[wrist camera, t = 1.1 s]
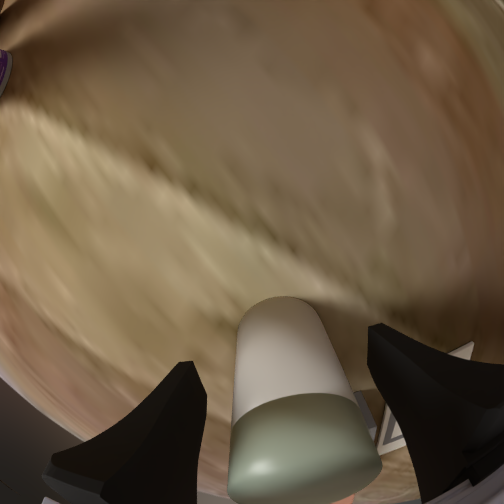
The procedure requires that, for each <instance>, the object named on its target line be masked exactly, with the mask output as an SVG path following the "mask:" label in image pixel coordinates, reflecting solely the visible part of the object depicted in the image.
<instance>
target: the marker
mask: <svg viewBox="0 0 504 504" xmlns="http://www.w3.org/2000/svg"><path fill="white" fill-rule="evenodd" d="M381 470H382V461H381V459H380V456H379V454H378V451H377V449H376V446H375V444H374V441H373V439H372V436H371V434H370V431H369V429H368V426H367V424H366V422H365V419H364V417H363V414H362V412H361V410H360V407H359V405H358V403H357V400H356V398H355V396H354V393H353V391H352V389H351V386H350V384H349V382H348V379H347V377H346V375H345V373H344V370H343V368H342V366H341V364H340V361H339V359H338V357H337V355H336V352H335V350H334V348H333V346H332V344H331V341H330V339H329V337H328V335H327V333H326V331H325V328H324V326H323V324H322V322H321V320H320V318H319V316H318V314H317V312H316V311H315V310H314V309H313V308H312V307H311V306H310V305H309V304H307V303H306V302H304V301H302V300H299V299H297V298H292V297H273V298H269V299H266V300H263V301H261V302H259V303H257V304H256V305H254V306H253V307H251V308H250V309H249V310H248V311H247V312H246V313H245V315H244V316H243V318H242V319H241V321H240V324H239V327H238V334H237V348H236V362H235V376H234V391H233V406H232V421H231V437H230V453H229V470H228V487H227V492H228V495H229V497H230V498H231V499H232V500H233V501H235V502H236V503H238V504H331V503H334V502H337V501H339V500H342V499H344V498H347V497H349V496H351V495H353V494H355V493H357V492H358V491H360V490H362V489H363V488H365V487H366V486H368V485H369V484H370V483H371V482H372V481H374V480H375V478H376V477H377V476H378V475H379V474H380V472H381Z"/></svg>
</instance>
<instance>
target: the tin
mask: <svg viewBox="0 0 504 504" xmlns="http://www.w3.org/2000/svg"><path fill="white" fill-rule="evenodd" d="M4 1H5V0H0V12H1V10H2V8H3V5H4Z"/></svg>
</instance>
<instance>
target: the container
mask: <svg viewBox="0 0 504 504" xmlns="http://www.w3.org/2000/svg"><path fill="white" fill-rule="evenodd" d="M11 68H12V56H11V54H10V53H9V52H6V51H4V50H1V49H0V97H1V95H2V93H3V91H4V89H5V86H6V84H7V82H8V79H9V76H10V72H11Z"/></svg>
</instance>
